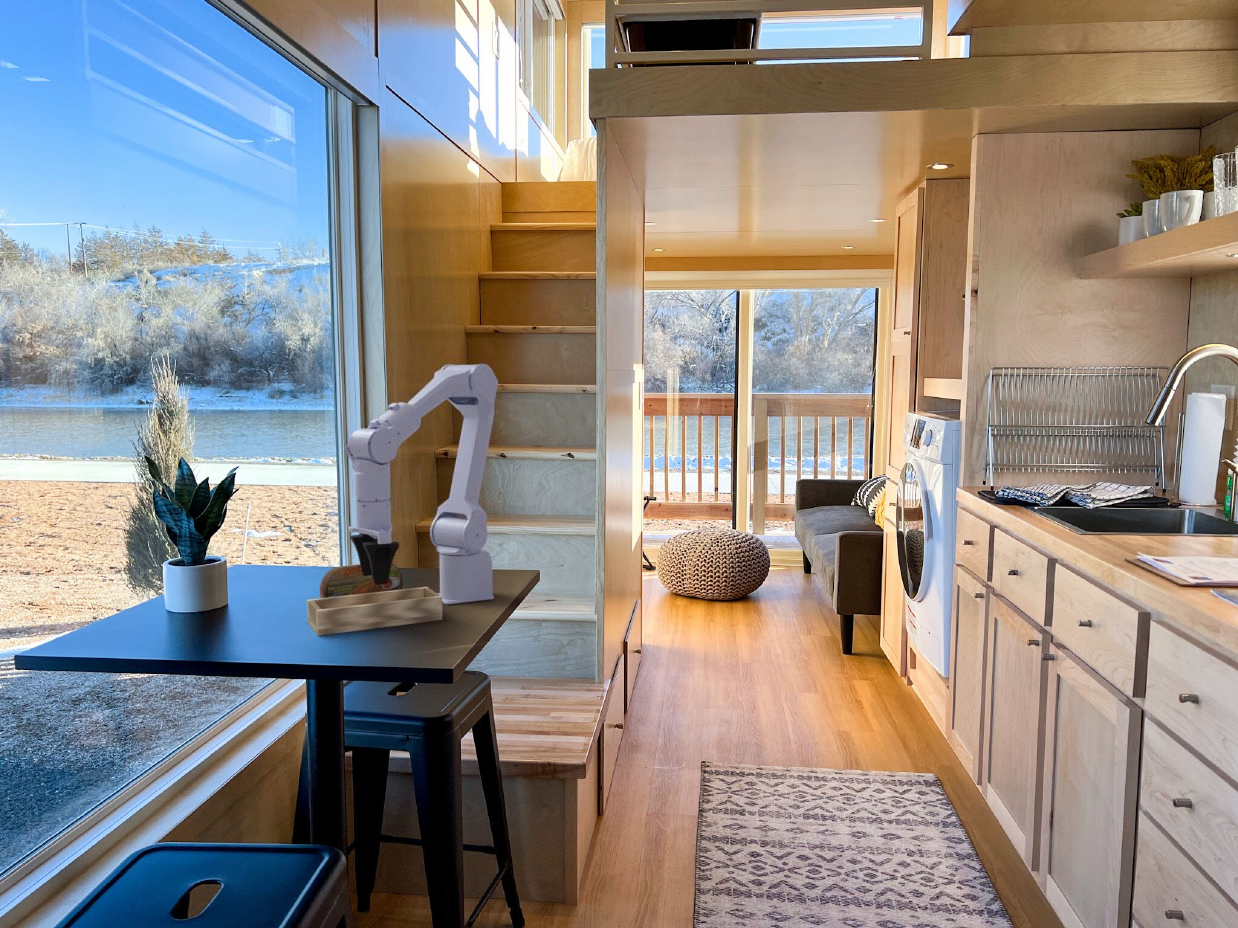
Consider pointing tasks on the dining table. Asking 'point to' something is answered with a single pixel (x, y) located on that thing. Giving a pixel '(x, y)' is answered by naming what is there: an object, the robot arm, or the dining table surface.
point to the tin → (356, 582)
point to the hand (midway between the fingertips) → (375, 579)
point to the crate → (373, 610)
